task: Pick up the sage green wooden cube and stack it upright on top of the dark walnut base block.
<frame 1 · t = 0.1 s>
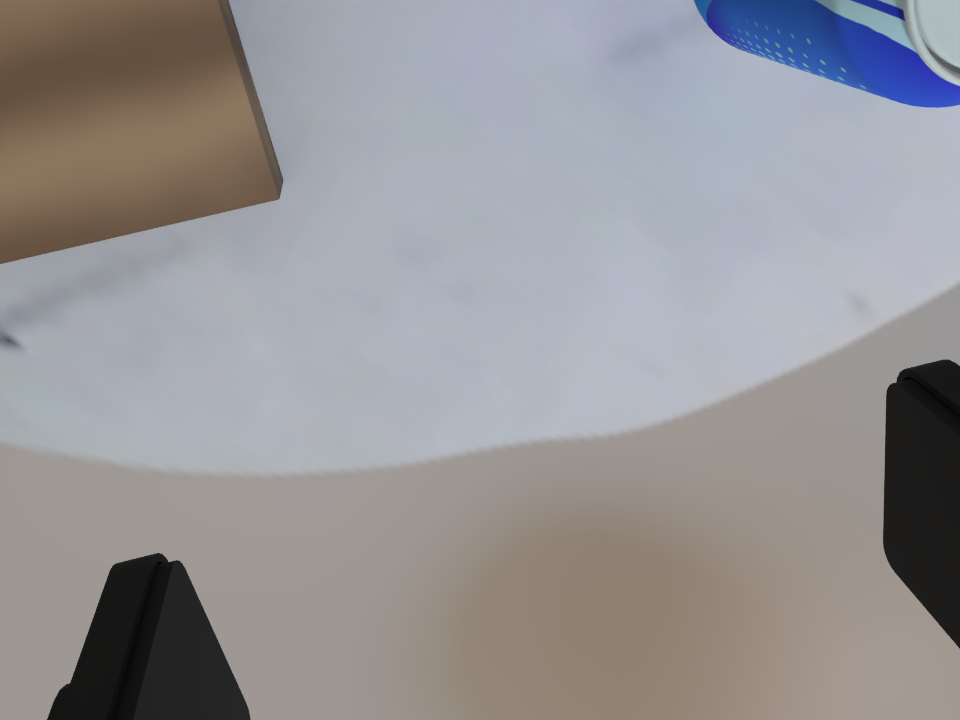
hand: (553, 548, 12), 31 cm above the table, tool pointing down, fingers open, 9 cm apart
walnut base: (65, 55, 36), on the table
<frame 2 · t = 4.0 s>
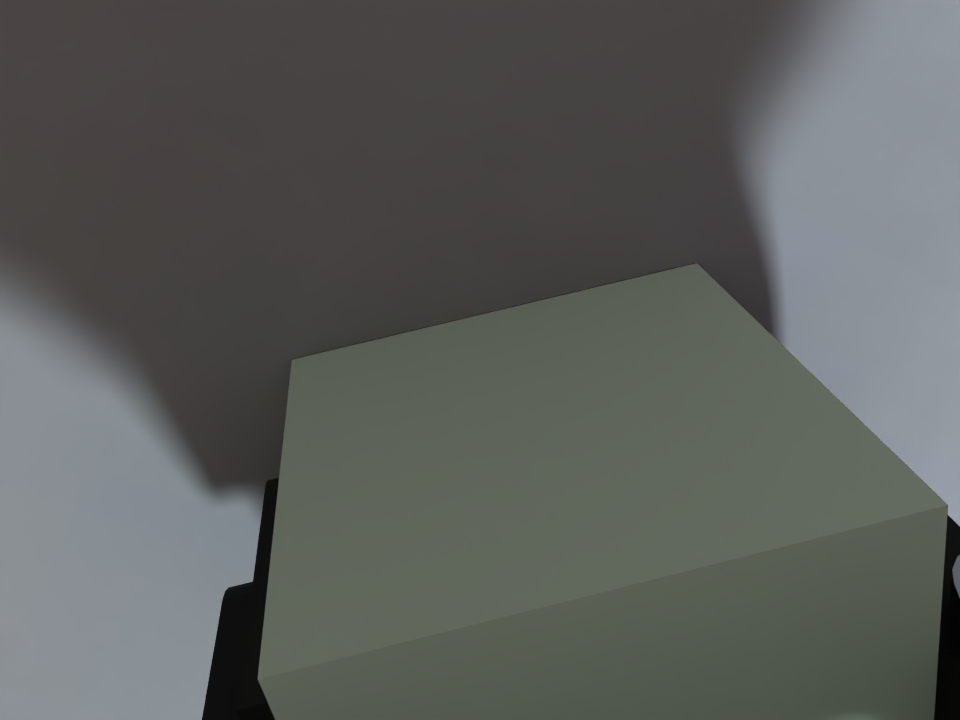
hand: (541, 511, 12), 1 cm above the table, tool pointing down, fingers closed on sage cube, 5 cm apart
sage cube: (530, 479, 13), on the table, touching gripper
when the fingers open (5 cm above the table, at t = 9.7 s): sage cube drops 1 cm, resting on walnut base.
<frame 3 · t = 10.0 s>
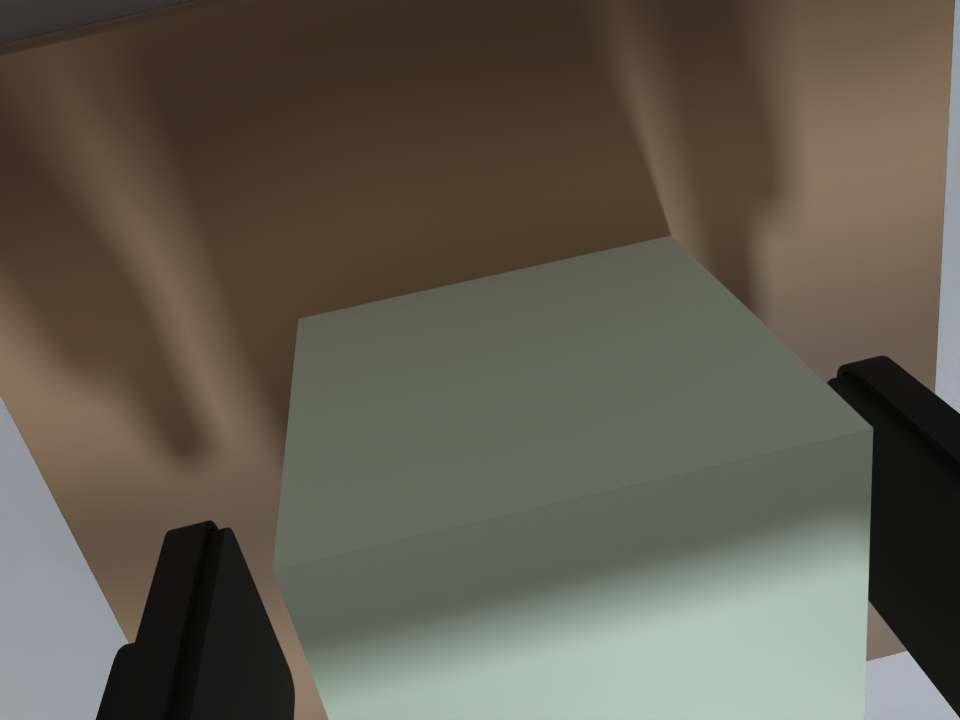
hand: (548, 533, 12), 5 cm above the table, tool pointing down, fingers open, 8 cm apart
walnut base: (487, 355, 17), on the table
sage cube: (516, 435, 14), point 3 cm above the table, touching walnut base
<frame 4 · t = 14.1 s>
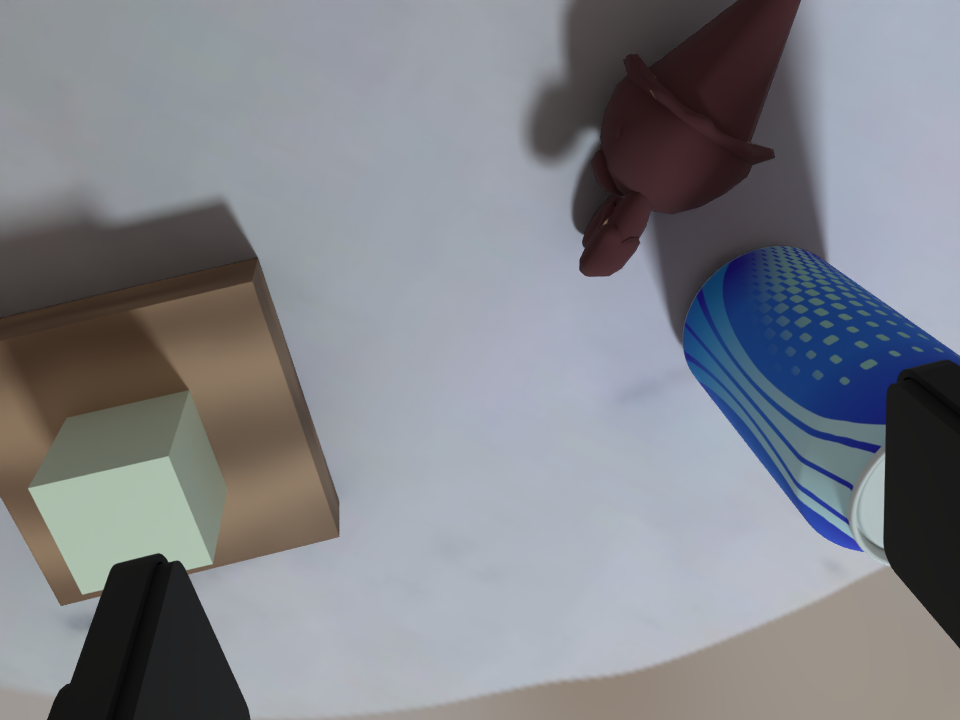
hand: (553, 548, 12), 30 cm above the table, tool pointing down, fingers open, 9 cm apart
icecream: (660, 105, 40), on the table
walnut base: (161, 422, 43), on the table
beer can: (751, 314, 46), on the table
sage cube: (149, 454, 41), point 3 cm above the table, touching walnut base
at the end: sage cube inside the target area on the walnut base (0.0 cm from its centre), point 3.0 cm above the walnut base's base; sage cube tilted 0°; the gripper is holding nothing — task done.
